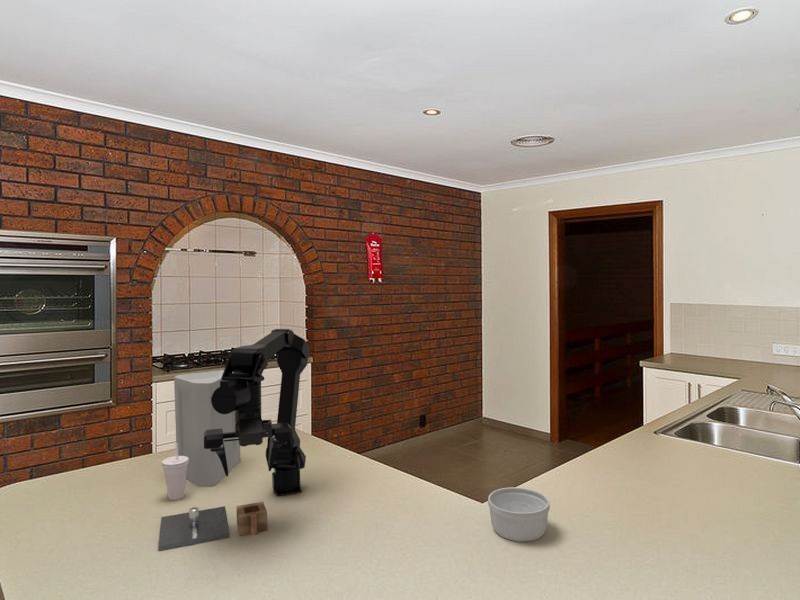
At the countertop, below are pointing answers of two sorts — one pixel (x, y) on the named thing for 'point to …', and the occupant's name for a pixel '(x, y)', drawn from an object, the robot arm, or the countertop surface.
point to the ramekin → (518, 513)
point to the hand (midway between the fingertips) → (248, 473)
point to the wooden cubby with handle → (251, 518)
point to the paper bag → (202, 427)
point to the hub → (193, 527)
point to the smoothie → (175, 475)
